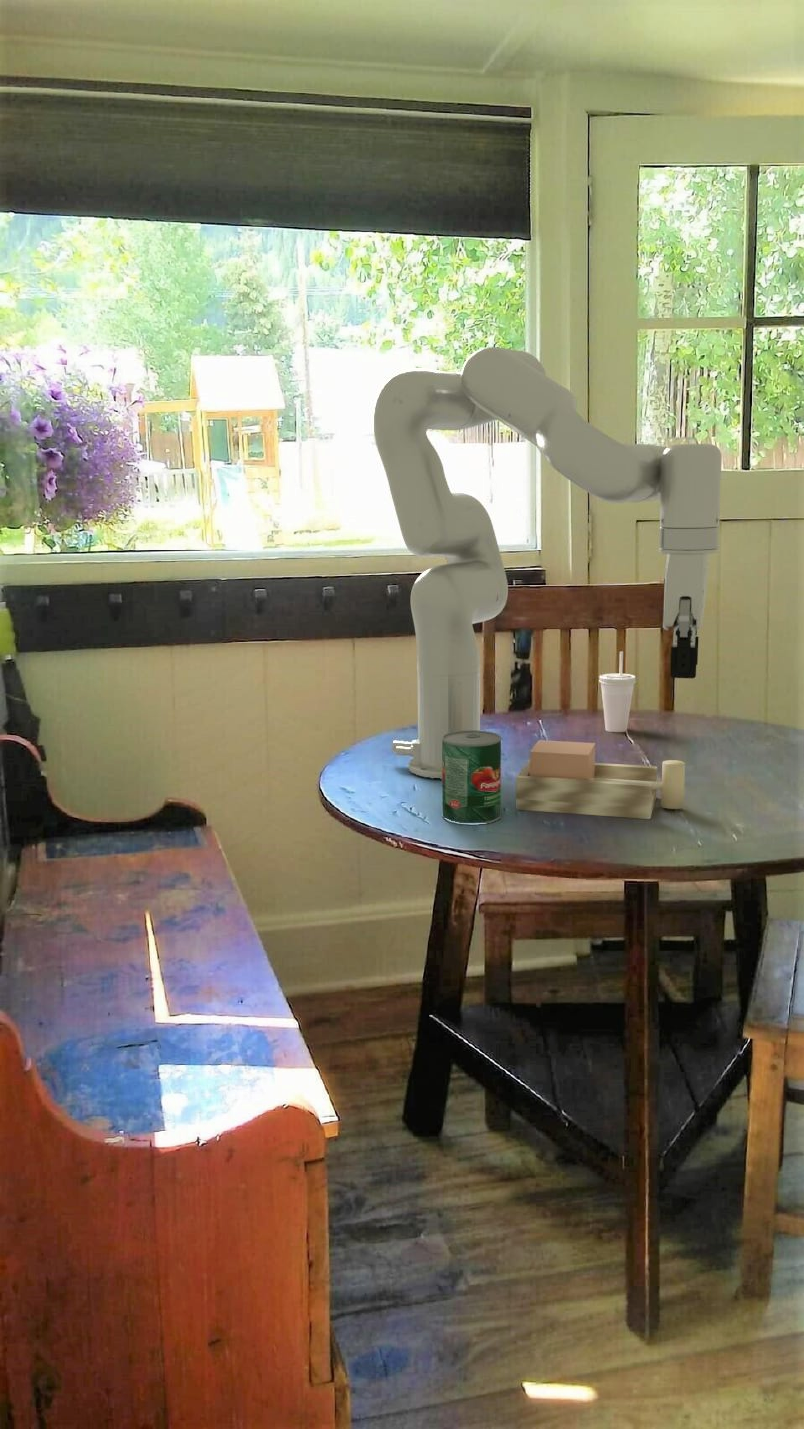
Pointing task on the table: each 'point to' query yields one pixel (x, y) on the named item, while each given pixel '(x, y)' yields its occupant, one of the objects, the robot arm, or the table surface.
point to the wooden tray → (590, 792)
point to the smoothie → (617, 698)
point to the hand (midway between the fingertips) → (684, 671)
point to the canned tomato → (471, 776)
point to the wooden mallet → (580, 764)
